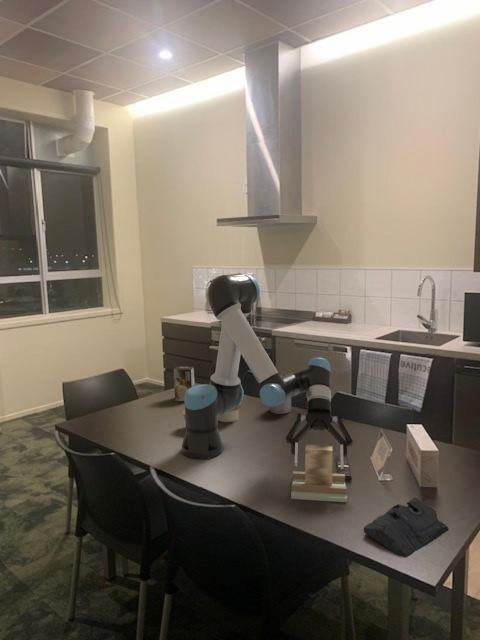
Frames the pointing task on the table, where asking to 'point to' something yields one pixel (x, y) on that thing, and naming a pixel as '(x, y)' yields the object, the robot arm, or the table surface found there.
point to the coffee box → (183, 381)
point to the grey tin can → (282, 407)
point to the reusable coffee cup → (230, 415)
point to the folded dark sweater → (406, 527)
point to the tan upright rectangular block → (318, 464)
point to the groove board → (319, 489)
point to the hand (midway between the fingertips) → (318, 466)
